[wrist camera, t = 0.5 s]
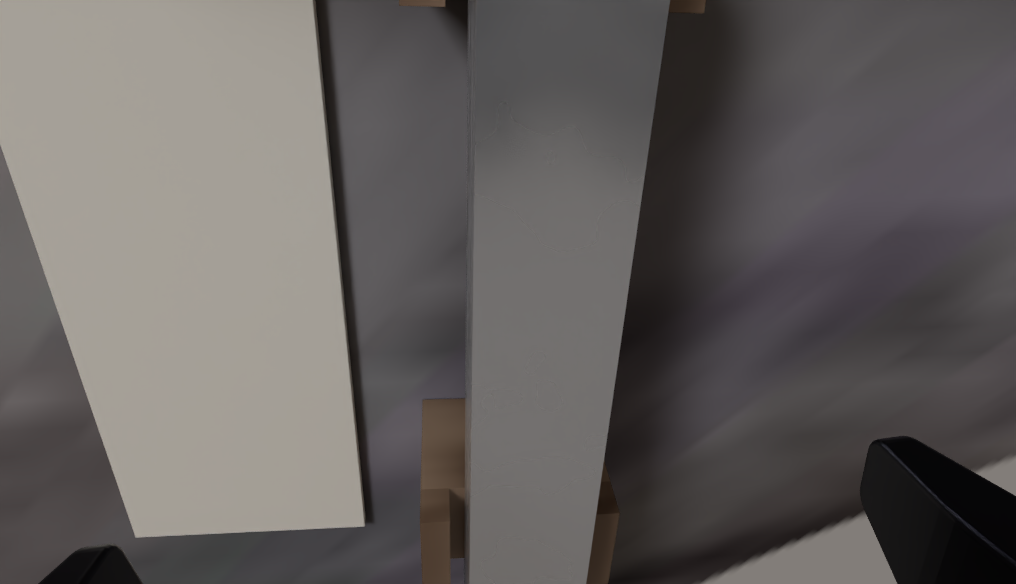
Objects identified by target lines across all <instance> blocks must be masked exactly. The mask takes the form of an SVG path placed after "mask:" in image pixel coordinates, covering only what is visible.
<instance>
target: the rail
mask: <svg viewBox="0 0 1016 584" xmlns="http://www.w3.org/2000/svg"><path fill="white" fill-rule="evenodd" d="M669 4H670V0H468V72H467V225H466V377H465V529H464V584H586V581H587V575H588V568H589V561H590V554H591V547H592V540H593V533H594V526H595V519H596V512H597V505H598V498H599V491H600V484H601V477H602V470H603V463H604V456H605V449H606V442H607V435H608V428H609V422H610V415H611V408H612V401H613V394H614V387H615V380H616V373H617V366H618V359H619V352H620V345H621V338H622V331H623V324H624V317H625V310H626V303H627V296H628V289H629V282H630V276H631V269H632V262H633V255H634V248H635V241H636V234H637V227H638V220H639V213H640V206H641V199H642V192H643V185H644V178H645V171H646V164H647V157H648V150H649V143H650V136H651V130H652V123H653V116H654V109H655V102H656V95H657V88H658V81H659V74H660V67H661V60H662V53H663V46H664V39H665V32H666V25H667V18H668V11H669Z"/></svg>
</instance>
